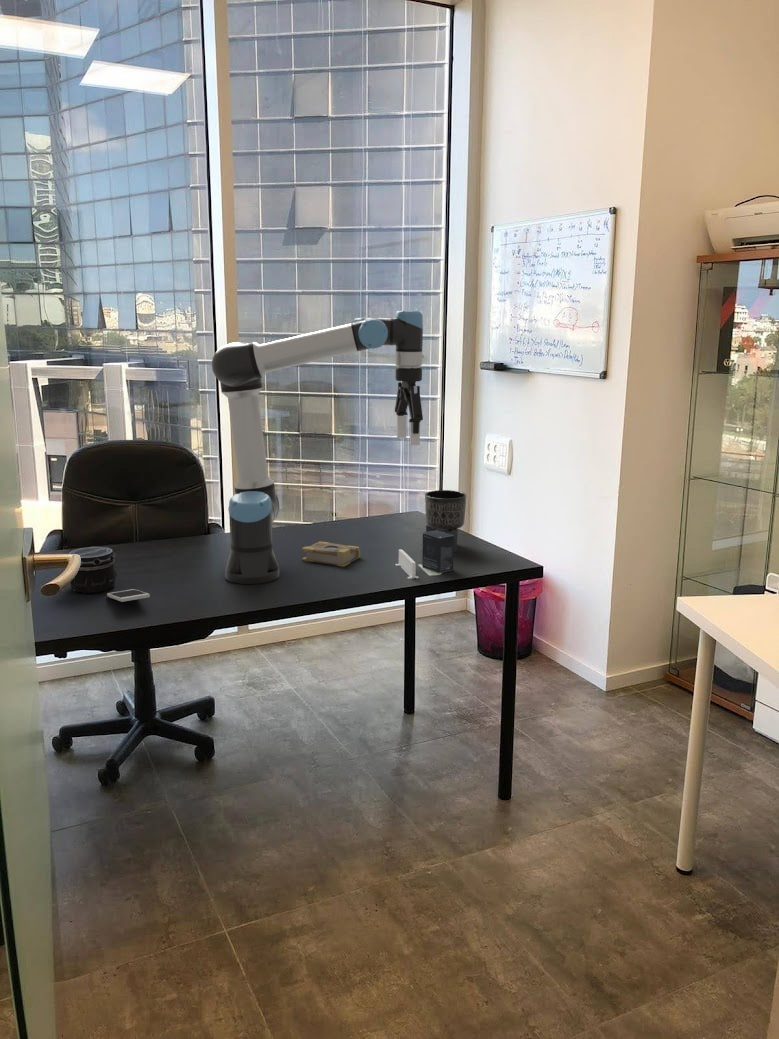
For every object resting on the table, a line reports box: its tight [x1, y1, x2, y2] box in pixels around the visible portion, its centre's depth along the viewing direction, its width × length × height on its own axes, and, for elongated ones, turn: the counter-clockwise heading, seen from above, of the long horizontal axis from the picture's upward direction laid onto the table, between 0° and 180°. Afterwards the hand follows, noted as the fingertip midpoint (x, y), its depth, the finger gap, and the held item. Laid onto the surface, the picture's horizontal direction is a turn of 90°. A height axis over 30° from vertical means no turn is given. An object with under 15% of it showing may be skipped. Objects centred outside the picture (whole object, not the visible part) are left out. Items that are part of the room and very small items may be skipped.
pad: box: [418, 563, 443, 577], centre depth 251 cm, size 9×11×1 cm
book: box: [301, 541, 361, 568], centre depth 261 cm, size 15×11×5 cm
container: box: [68, 546, 118, 594], centre depth 233 cm, size 13×13×10 cm
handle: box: [394, 549, 420, 580], centre depth 248 cm, size 3×14×5 cm, turn 15°
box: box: [421, 530, 455, 573], centre depth 250 cm, size 8×6×11 cm
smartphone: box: [106, 588, 150, 603], centre depth 222 cm, size 7×16×1 cm, turn 32°
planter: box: [424, 489, 467, 553], centre depth 271 cm, size 13×13×18 cm
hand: (407, 441), depth 249 cm, fingers open, 13 cm apart
